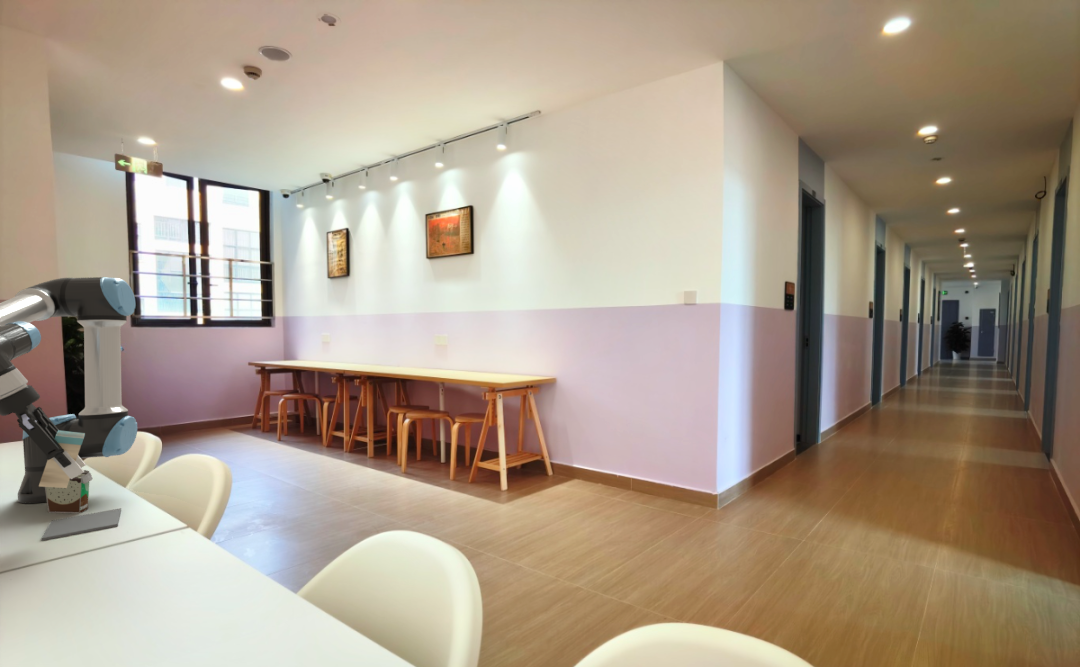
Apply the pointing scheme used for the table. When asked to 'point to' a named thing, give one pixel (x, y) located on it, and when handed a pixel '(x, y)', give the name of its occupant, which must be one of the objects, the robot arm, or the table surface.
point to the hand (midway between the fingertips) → (78, 471)
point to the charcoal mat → (82, 524)
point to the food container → (70, 495)
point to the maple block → (52, 471)
